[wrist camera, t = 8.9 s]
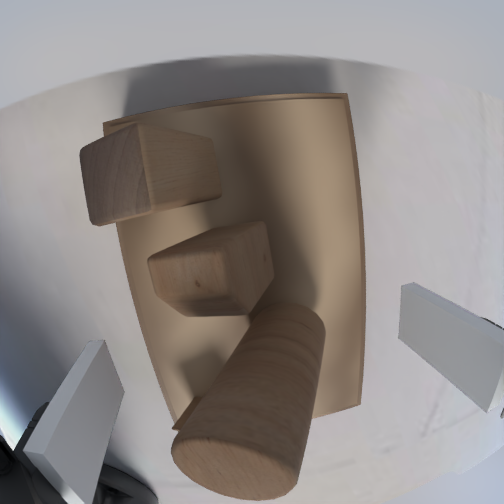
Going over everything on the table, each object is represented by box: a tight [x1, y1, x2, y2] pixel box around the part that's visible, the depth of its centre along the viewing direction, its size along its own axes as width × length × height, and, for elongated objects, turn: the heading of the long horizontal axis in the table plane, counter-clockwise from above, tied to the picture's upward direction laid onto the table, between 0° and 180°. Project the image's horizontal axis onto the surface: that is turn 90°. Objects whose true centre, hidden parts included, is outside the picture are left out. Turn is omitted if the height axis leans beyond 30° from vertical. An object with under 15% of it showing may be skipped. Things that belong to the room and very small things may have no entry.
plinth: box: [103, 93, 366, 433], centre depth 19 cm, size 14×22×4 cm, turn 8°
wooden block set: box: [79, 122, 326, 501], centre depth 13 cm, size 18×9×10 cm, turn 10°
